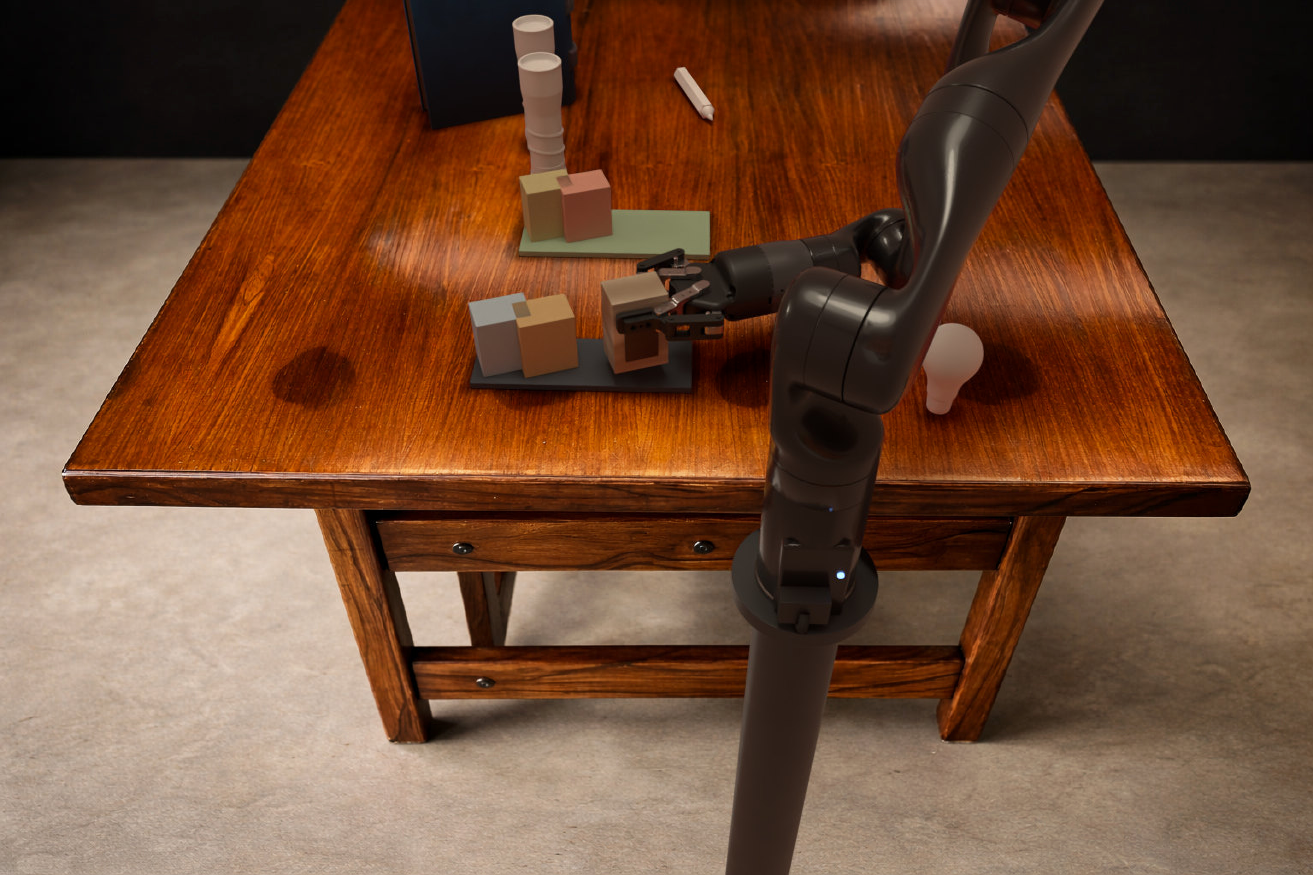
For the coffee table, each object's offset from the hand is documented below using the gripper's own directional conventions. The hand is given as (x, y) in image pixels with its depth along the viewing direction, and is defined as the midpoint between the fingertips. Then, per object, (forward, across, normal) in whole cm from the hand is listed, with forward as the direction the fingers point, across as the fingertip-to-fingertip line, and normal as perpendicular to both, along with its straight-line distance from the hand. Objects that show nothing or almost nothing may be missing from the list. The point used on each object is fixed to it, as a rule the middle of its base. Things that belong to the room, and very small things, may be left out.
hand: (610, 309), depth 105 cm
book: (-2, -68, +9) cm, 68 cm away
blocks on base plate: (+2, -3, +10) cm, 10 cm away
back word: (-8, -27, +9) cm, 30 cm away
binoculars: (-4, -47, +10) cm, 48 cm away
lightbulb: (-31, +16, +10) cm, 36 cm away
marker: (-30, -58, +9) cm, 66 cm away
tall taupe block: (-3, 0, +7) cm, 7 cm away
